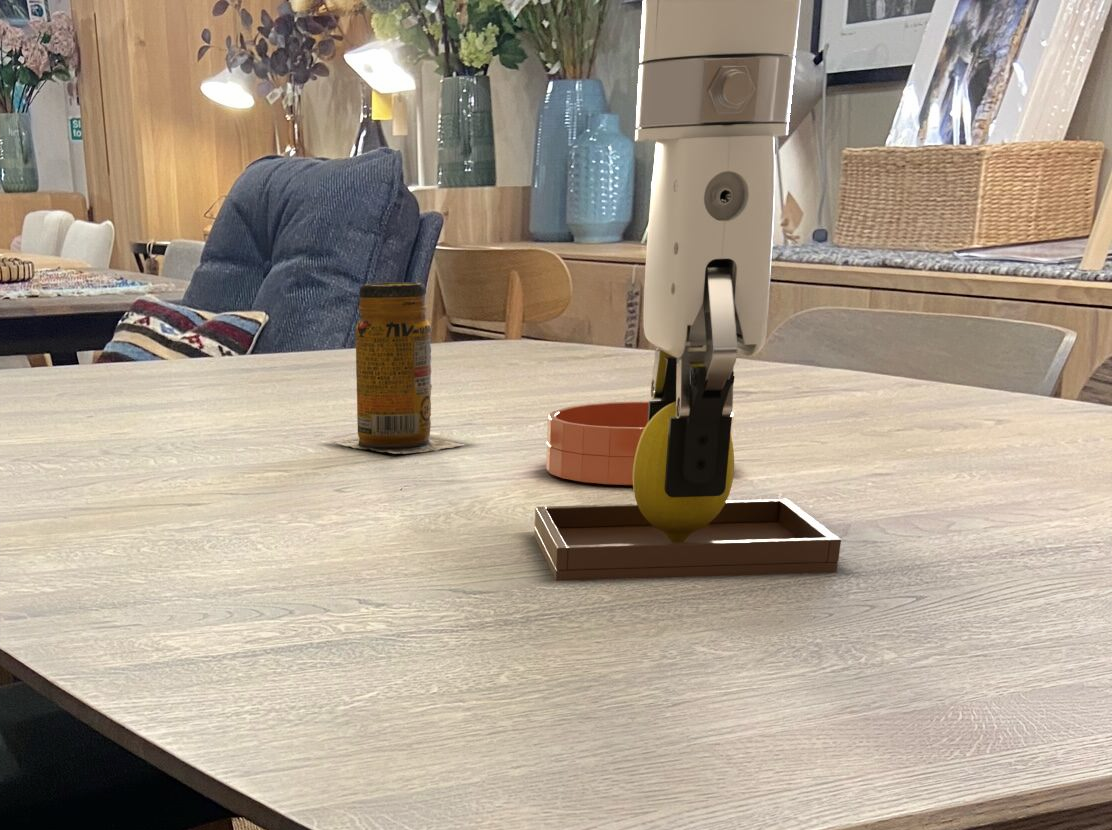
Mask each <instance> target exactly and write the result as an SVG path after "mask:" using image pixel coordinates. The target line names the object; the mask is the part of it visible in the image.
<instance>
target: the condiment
mask: <svg viewBox="0 0 1112 830" xmlns="http://www.w3.org/2000/svg"><path fill="white" fill-rule="evenodd" d="M426 293H427V288H426V286H425V285H424V284H423V283H422V282H416V281H413V282H404V281H403V282H401V281H400V282H375V283H374V282H372V283H364V284H363V285H361V286H360V287H359V291H358V294H359V306H358V312H359V315H361V316H360V318H359V320H358V322H357V323H356V325H355V372H356V373H355V374H356V375H355V376H356V410H357V411H356V416H357V417H356V419H357V421H356V422H357V436H358V440H343V441H336V442H335V444H337V445H340V446H344V447H348V448H353V449H358V450H371V451H375V452H379V453H389V454H394V455H395V454H403V455H406V454H415V453H426V452H431V451H435V452H438V451H439V450H443V449H453V448H456V447H461V446H466V443H465V444H464V443H461V442H453V441H451V440H449V441H448V440H444V439H430V435H431V427H432V423H431V421H432V420H431V416H432V401H431V400H432V399H431V397H432V387H433V385H432V380H431V379H432V365H431V363H432V355H431V354H432V346H431V343H432V341H431V339H432V327H431V324H430V322H429V320H428V319H427V317H426V312H427V303H426V296H425V295H426Z"/></svg>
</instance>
